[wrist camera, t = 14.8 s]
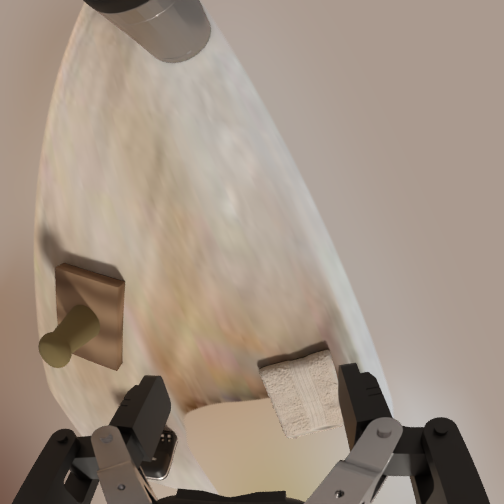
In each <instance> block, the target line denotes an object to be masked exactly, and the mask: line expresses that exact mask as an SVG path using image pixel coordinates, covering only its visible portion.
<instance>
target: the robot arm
mask: <svg viewBox="0 0 504 504" xmlns="http://www.w3.org/2000/svg"><path fill="white" fill-rule="evenodd" d="M84 1H85V2H86V3H87V4H88V5H89V6H91V7H92V8H93V9H95V10H96V11H97V12H99V13H100V14H101V15H103V16H104V17H105V18H107V19H108V20H109V21H111V22H112V23H113V24H115V25H116V26H117V27H118V28H120V29H121V30H122V31H124V32H125V33H126V34H127V35H129V36H130V37H131V38H132V39H134V40H135V41H136V42H137V43H138V44H140V45H141V46H142V47H143V48H144V49H146V50H147V51H148V52H149V53H151V54H152V55H153V56H154V57H155V58H157V59H159V60H161V61H163V62H167V63H176V62H182V61H185V60H188V59H190V58H192V57H194V56H195V55H196V54H198V53H199V52H200V51H201V50H202V49H203V48H204V47H205V45H206V44H207V42H208V40H209V37H210V33H211V27H210V23H209V21H208V18H207V16H206V14H205V12H204V10H203V7H202V5H201V3H200V1H199V0H84ZM338 399H339V405H340V409H341V413H342V417H343V422H344V426H345V430H346V434H347V438H348V444H349V448H350V453H349V455H348V456H347V457H346V459H345V460H344V461H343V460H340V461H339V462H338V463H337V464H336V465H335V466H334V467H333V469H332V470H331V471H330V473H329V474H328V475H327V476H326V478H325V479H324V480H323V481H322V483H321V484H320V485H319V486H318V488H317V489H316V490H315V491H314V492H313V494H312V495H311V496H310V497H309V498H308V499H307V501H306V502H303V501H300V500H297V499H292V498H287V497H286V491H274V492H256V493H251V494H247V495H241V496H236V497H224V496H220V495H217V494H213V493H209V492H205V491H199V490H187V489H178V491H177V494H176V495H175V496H169V497H165V498H162V499H159V500H158V499H157V497H156V495H155V493H154V492H153V490H152V488H151V486H150V484H149V482H148V480H147V478H146V476H145V474H144V472H143V470H142V468H141V467H140V464H141V462H142V461H147V462H151V461H152V458H153V456H154V453H155V450H156V448H157V445H158V443H159V440H160V437H161V435H162V432H163V429H164V427H165V424H166V422H167V419H168V416H169V414H170V411H171V402H170V398H169V395H168V393H167V390H166V387H165V384H164V382H163V379H162V377H161V376H150V375H145V376H144V377H143V379H142V380H141V382H140V384H139V385H135V386H134V387H133V388H131V389H130V390H129V391H128V392H127V394H126V396H125V397H124V400H123V401H122V403H121V404H120V405H121V406H119V408H118V409H117V411H116V413H115V415H114V416H113V418H112V420H111V422H110V424H109V425H108V426H102V427H100V428H98V429H97V430H95V431H94V432H93V434H92V436H85V437H77V436H76V435H75V433H74V432H73V431H72V430H70V429H61V430H58V431H56V432H55V433H54V434H52V436H51V437H50V439H49V440H48V442H47V444H46V445H45V447H44V449H43V450H42V452H41V454H40V455H39V457H38V459H37V460H36V462H35V464H34V465H33V467H32V469H31V470H30V472H29V474H28V476H27V477H26V479H25V481H24V483H23V485H22V486H21V488H20V490H19V492H18V493H17V495H16V497H15V499H14V501H13V503H12V504H90V503H91V500H92V498H93V495H94V493H95V490H96V488H97V485H98V482H99V481H100V484H101V487H102V490H103V493H104V496H105V499H106V501H107V504H371V503H372V502H373V500H374V499H375V497H376V496H377V494H378V492H379V491H380V489H381V487H382V486H383V484H384V482H385V481H386V479H387V477H388V476H410V479H411V483H412V487H413V491H414V495H415V499H416V504H490V502H489V500H488V497H487V494H486V492H485V489H484V487H483V484H482V482H481V479H480V477H479V474H478V472H477V469H476V467H475V465H474V462H473V460H472V458H471V456H470V453H469V451H468V449H467V447H466V444H465V442H464V440H463V438H462V436H461V434H460V432H459V429H458V427H457V425H456V424H455V423H454V422H453V421H452V420H450V419H448V418H442V417H441V418H434V419H432V420H430V421H428V422H427V423H426V425H425V427H405V426H402V425H401V424H400V422H398V421H397V420H395V419H393V418H392V415H391V413H390V411H389V408H388V406H387V403H386V401H385V398H384V396H383V394H382V391H381V389H380V388H379V384H378V382H377V379H376V378H375V377H374V376H373V375H372V374H370V373H369V372H365V373H360V372H359V369H358V367H357V364H356V363H351V364H344V365H339V376H338ZM68 470H70V471H71V472H70V474H69V476H68V478H67V480H66V482H65V484H64V478H65V476H66V474H67V472H68Z"/></svg>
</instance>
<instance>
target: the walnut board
mask: <svg viewBox="0 0 504 504" xmlns="http://www.w3.org/2000/svg"><path fill="white" fill-rule="evenodd" d="M55 278H56V303H57V318H58V325H59V324H60V323H61V321H62V320H63V319H64V318H65V316H66V315H67V314H68V313H69V312H70V310H71V309H72V308H73V307H74V306H76V305H84V306H87V307H88V308H90V309H91V310H92V311H93V312H94V313H95V314H96V316H97V318H98V320H99V323H100V331H99V334H98V335H97V336H95V337H94V338H93V339H91V340H90V341H89V342H87V343H86V344H84V345H83V346H82V347H80V348H79V349H78V350H76V351H75V352H74V353H72V354H74V355H77V356H79V357H82V358H84V359H87V360H89V361H92V362H94V363H97V364H99V365H102V366H105V367H107V368H110V369H113V370H116V371H117V370H118V369H119V367H120V366H121V364H122V342H123V309H124V291H125V282H124V281H121V280H117V279H114V278H111V277H107V276H104V275H101V274H97V273H94V272H91V271H88V270H84V269H81V268H78V267H75V266H72V265H69V264H66V263H63V264H61V265H59V266H57V267H56V268H55Z"/></svg>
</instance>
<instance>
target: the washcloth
mask: <svg viewBox="0 0 504 504" xmlns="http://www.w3.org/2000/svg"><path fill="white" fill-rule="evenodd" d="M259 372H260V375H261V379H262V381H263V384H264V385H265V387H266V391H267V393H268V396H269V397H270V399H271V402H272V404H273V408H274V409H275V411H276V414H277V417H278V418H279V422H280V424H281V427H282V429H283V431H284V434H285V436H286V437H287V438H297V437H299V436H302V435H306V434H311V433H316V432H320V431H325V430H330V429H333V428H336V427H341V426H342V425H343V424H344V422H343V417H342V413H341V409H340V405H339V399H338V378H337V375H336V370H335V367H334V364H333V360H332V356H331V353H330V350H323V351H320V352H316V353H313V354H310V355H308V356H306V357H304V358H300V359H296V360H293V361H284V362H281V363H277V364H272V365H269V366H266V367H263V368H261V369H259Z"/></svg>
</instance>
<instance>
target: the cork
mask: <svg viewBox="0 0 504 504" xmlns="http://www.w3.org/2000/svg"><path fill="white" fill-rule="evenodd" d="M99 331H100V323H99V320H98V318H97V316H96V314H95V313H94V312H93V311H92V310H91V309H90V308H88V307H87V306H84V305H76V306H74V307H73V308H72V309H71V310H70V312H69V313H68V314H67V315H66V316H65V318H64V319H63V320H62V321H61V323H60V324H59V325H58V326H57V328H56V329H55V330H54V331H53V332H50V333H47V334H45V335H44V336H43V337H42V338H41V339H40V342H39V352H40V355H41V356H42V358H43V359H44V360H45V362H46V363H48V364H49V365H50V366H52V367H55V368H61V367H64V366H65V365H67V364H68V362H69V361H70V358H71V356H72V355H71V354H72V353H74V352H75V351H76V350H78V349H79V348H80V347H82V346H83V345H84V344H86V343H87V342H89V341H90V340H91V339H93V338H94V337H95V336H97V335H98V334H99Z"/></svg>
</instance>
